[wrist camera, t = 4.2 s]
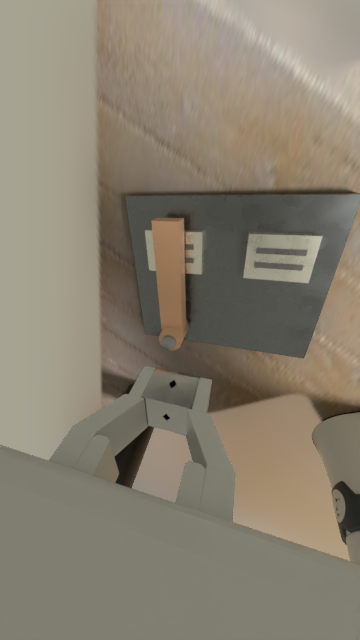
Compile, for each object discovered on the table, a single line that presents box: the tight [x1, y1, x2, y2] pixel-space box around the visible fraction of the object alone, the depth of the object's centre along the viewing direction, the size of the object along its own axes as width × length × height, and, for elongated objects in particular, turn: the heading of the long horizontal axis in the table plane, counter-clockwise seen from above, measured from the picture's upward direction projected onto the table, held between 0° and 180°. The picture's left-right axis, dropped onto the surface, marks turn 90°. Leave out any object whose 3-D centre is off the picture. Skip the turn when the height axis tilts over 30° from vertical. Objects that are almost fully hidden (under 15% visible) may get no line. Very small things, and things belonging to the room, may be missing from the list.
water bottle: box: [114, 383, 154, 488], centre depth 41 cm, size 10×10×23 cm
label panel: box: [125, 193, 360, 358], centre depth 29 cm, size 24×20×3 cm
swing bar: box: [151, 218, 189, 351], centre depth 29 cm, size 17×3×5 cm, turn 2°
